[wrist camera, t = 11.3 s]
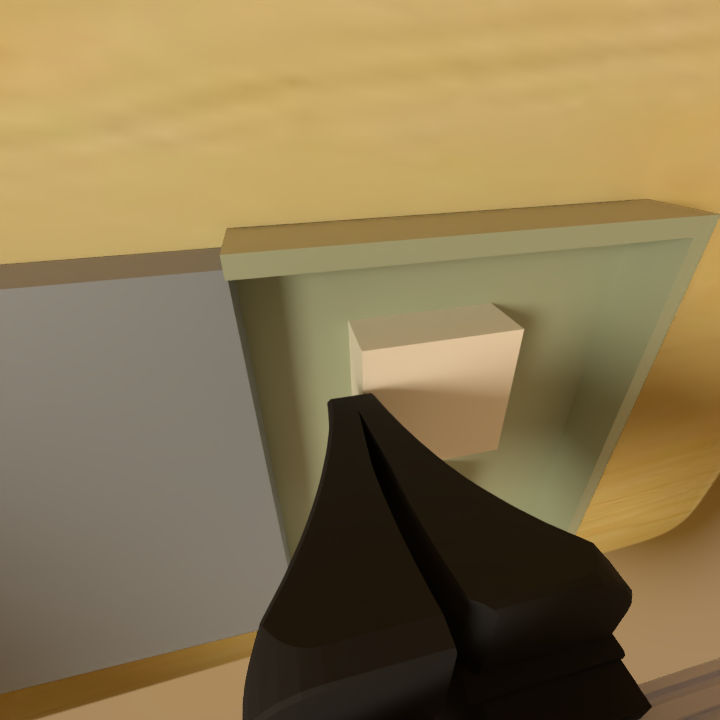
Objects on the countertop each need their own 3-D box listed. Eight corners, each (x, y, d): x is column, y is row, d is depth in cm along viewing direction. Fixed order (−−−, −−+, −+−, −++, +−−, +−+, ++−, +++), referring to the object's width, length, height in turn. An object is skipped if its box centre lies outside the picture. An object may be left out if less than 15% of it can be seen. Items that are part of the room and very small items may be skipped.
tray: (296, 583, 20) (301, 636, 18) (227, 228, 11) (219, 255, 9) (531, 529, 23) (558, 570, 20) (647, 199, 13) (720, 214, 11)
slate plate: (-5, 647, 18) (-32, 702, 16) (-406, 296, 9) (-566, 339, 7) (295, 578, 20) (298, 620, 18) (230, 246, 11) (225, 269, 9)
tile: (353, 436, 15) (365, 475, 13) (348, 320, 12) (362, 351, 11) (472, 415, 16) (497, 449, 14) (491, 302, 13) (524, 329, 12)
